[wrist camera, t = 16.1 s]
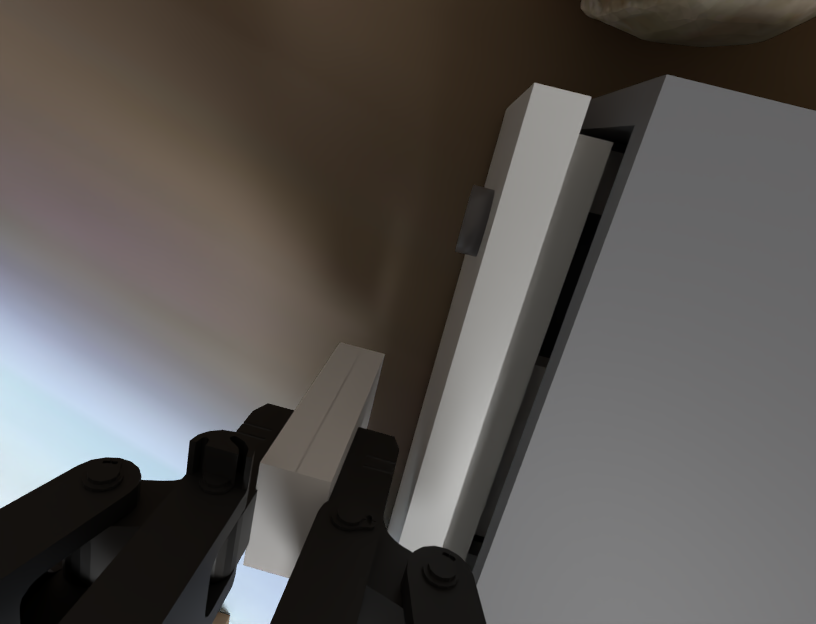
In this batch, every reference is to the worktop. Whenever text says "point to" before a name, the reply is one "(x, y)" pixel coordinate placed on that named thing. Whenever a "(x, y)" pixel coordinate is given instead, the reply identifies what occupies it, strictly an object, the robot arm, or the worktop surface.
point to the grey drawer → (500, 317)
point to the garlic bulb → (702, 19)
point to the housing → (675, 381)
